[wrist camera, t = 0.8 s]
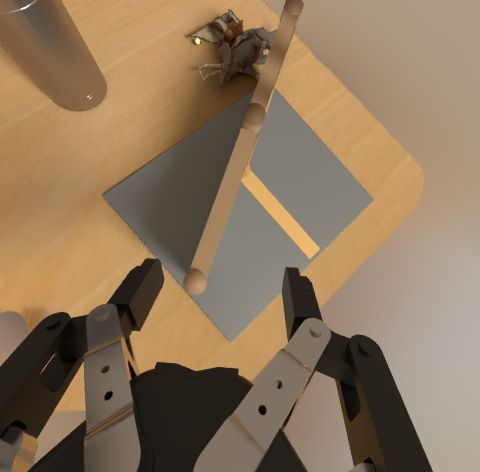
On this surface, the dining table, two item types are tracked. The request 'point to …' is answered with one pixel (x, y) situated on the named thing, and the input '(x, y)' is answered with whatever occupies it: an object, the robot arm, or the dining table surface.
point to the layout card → (242, 208)
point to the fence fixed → (272, 68)
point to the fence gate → (219, 214)
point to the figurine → (234, 46)
